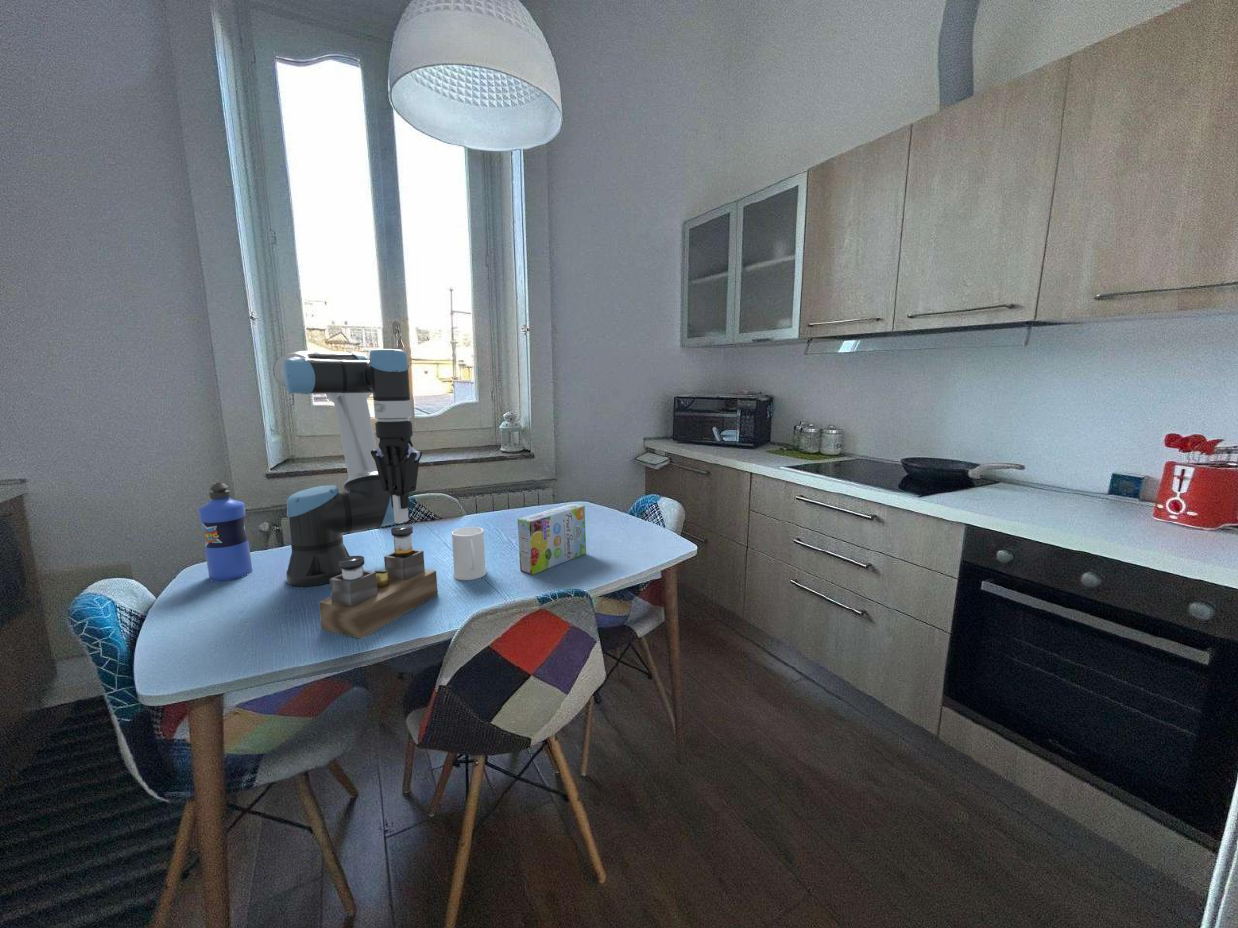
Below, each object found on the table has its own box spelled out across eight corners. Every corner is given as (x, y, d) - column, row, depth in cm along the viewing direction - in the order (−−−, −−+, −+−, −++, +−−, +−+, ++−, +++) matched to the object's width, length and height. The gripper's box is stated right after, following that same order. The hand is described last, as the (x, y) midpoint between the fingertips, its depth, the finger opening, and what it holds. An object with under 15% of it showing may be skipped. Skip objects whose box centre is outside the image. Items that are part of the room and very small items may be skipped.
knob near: (336, 596, 100) (333, 561, 99) (355, 588, 104) (352, 554, 103) (353, 600, 98) (350, 564, 97) (372, 591, 102) (369, 557, 101)
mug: (489, 582, 124) (487, 537, 122) (454, 587, 121) (451, 541, 119) (485, 566, 135) (483, 525, 133) (452, 570, 132) (450, 528, 130)
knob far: (389, 561, 112) (386, 529, 111) (404, 554, 117) (401, 524, 115) (404, 563, 111) (402, 532, 110) (419, 557, 115) (417, 526, 114)
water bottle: (224, 583, 123) (210, 488, 119) (199, 578, 126) (185, 485, 122) (261, 570, 132) (249, 481, 128) (237, 566, 135) (225, 478, 131)
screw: (371, 588, 106) (370, 573, 106) (378, 582, 109) (377, 568, 109) (385, 588, 106) (384, 573, 106) (391, 582, 109) (390, 568, 109)
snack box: (573, 550, 148) (572, 502, 146) (586, 554, 145) (586, 505, 142) (518, 570, 132) (516, 517, 130) (532, 575, 128) (530, 521, 126)
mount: (321, 629, 100) (316, 579, 99) (402, 587, 121) (398, 545, 119) (361, 638, 97) (356, 586, 95) (437, 594, 117) (434, 550, 115)
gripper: (357, 420, 107) (366, 523, 111) (403, 421, 103) (411, 528, 106) (384, 418, 114) (392, 515, 118) (428, 419, 109) (435, 520, 113)
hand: (401, 521), depth 112 cm, fingers closed
